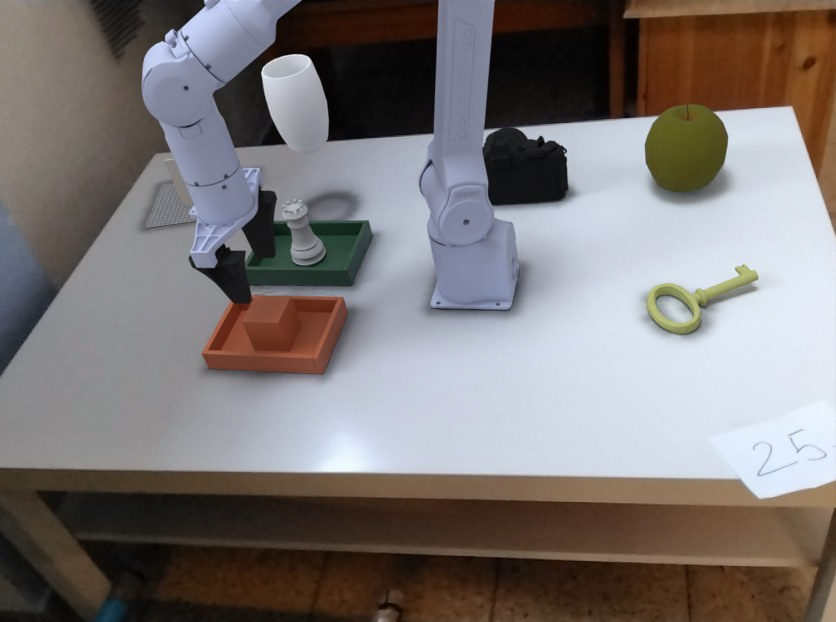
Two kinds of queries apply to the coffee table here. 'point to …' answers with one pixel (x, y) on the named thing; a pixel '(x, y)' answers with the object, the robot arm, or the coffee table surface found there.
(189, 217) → the architectural model
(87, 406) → the coffee table surface
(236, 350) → the terracotta tray
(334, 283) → the green tray
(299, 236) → the rook chess piece
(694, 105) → the apple
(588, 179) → the coffee table surface
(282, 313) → the terracotta block
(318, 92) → the cup
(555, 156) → the film camera
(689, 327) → the key
